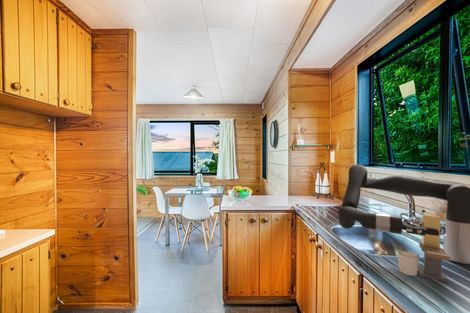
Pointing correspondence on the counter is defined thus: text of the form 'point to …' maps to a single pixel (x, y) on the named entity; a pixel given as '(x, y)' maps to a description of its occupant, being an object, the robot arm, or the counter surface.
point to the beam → (434, 252)
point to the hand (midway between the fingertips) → (436, 230)
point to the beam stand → (432, 269)
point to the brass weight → (431, 223)
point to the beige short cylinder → (408, 262)
